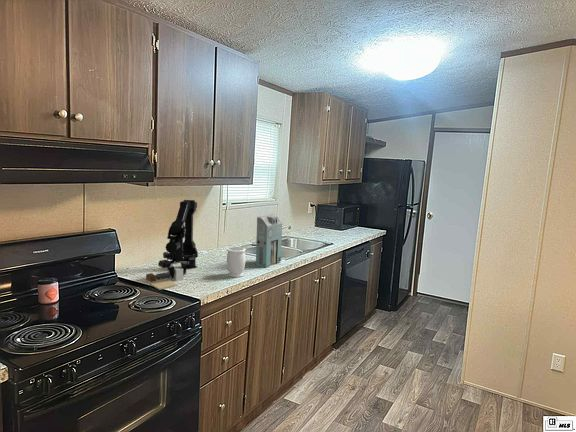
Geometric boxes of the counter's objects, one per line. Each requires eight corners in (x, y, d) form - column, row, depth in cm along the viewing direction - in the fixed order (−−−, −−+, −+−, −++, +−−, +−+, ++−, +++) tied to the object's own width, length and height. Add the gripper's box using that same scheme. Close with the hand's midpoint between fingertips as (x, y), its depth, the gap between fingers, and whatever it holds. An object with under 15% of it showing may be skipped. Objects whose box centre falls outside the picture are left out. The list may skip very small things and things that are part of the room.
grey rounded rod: (184, 273, 223) (184, 268, 223) (187, 274, 221) (187, 269, 221) (154, 279, 211) (154, 273, 210) (156, 280, 209) (156, 275, 208)
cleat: (151, 278, 211) (151, 273, 210) (156, 281, 207) (156, 275, 207) (146, 279, 209) (146, 274, 208) (150, 282, 205) (150, 276, 205)
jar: (239, 279, 216) (240, 251, 214) (222, 276, 220) (223, 249, 218) (248, 274, 226) (249, 248, 224) (232, 271, 230) (232, 245, 227)
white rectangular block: (178, 277, 215) (178, 266, 214) (183, 279, 211) (183, 268, 210) (171, 279, 212) (171, 268, 211) (176, 281, 208) (176, 270, 208)
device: (266, 268, 240) (267, 218, 235) (255, 265, 244) (256, 217, 239) (280, 262, 253) (282, 215, 249) (270, 260, 257) (272, 214, 253)
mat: (166, 279, 210) (166, 278, 210) (177, 285, 201) (177, 284, 201) (148, 283, 203) (148, 282, 203) (159, 289, 194) (159, 288, 194)
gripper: (185, 243, 221) (185, 270, 224) (153, 248, 208) (153, 277, 211) (196, 247, 213) (196, 275, 216) (163, 252, 200) (163, 282, 203)
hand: (177, 277), depth 211 cm, fingers open, 5 cm apart
